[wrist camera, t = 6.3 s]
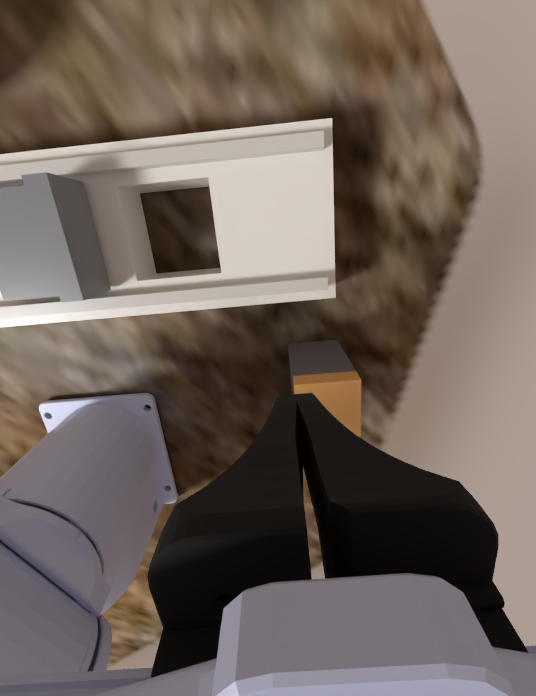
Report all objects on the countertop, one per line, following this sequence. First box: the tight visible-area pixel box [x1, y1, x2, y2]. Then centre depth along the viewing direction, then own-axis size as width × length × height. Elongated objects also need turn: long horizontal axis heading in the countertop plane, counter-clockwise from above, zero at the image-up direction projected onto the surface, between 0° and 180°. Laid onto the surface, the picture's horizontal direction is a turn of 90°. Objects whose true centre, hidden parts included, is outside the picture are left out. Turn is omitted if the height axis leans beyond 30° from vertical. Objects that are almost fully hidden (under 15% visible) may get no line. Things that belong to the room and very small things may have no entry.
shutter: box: [0, 172, 111, 302], centre depth 15 cm, size 5×5×3 cm
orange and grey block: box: [288, 339, 361, 437], centre depth 19 cm, size 3×3×6 cm
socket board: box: [0, 118, 336, 327], centre depth 17 cm, size 20×8×4 cm, turn 95°
